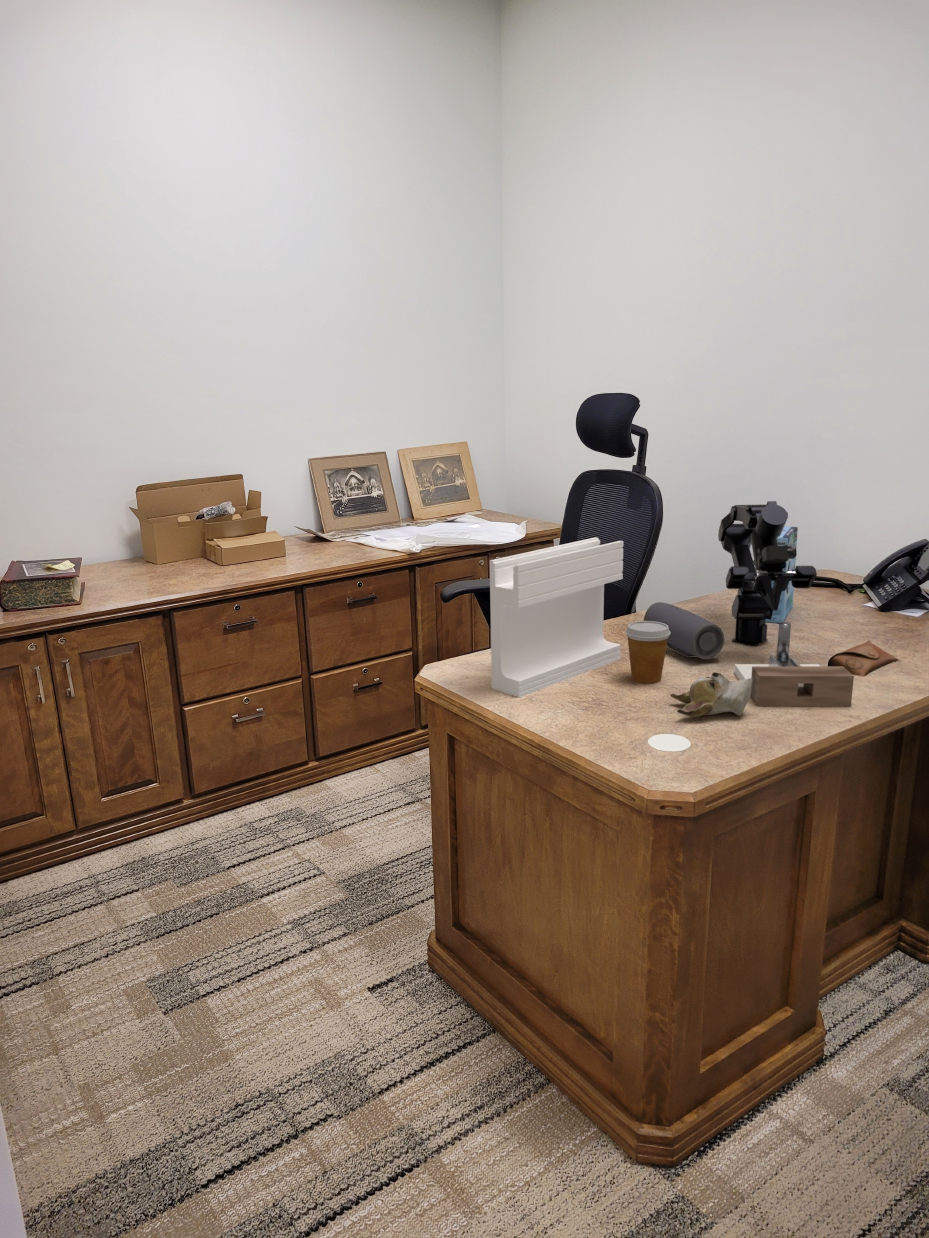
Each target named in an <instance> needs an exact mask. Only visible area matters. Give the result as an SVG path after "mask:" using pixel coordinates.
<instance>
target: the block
mask: <svg viewBox="0 0 929 1238" xmlns="http://www.w3.org/2000/svg"><path fill="white" fill-rule="evenodd" d="M623 547H624V541H623V540H618V541H613V542H609V543H604V544H601V540H600V539H599V537H591V538H587V539H582V540H578V541H573V542H569V543H564V544H559V545H555V546H549V547H545V548H541V549H535V550H532V551H528V552H523V553H522V552H521V553H517V554H514V555H513V554H512V555H509V556H503V557H499V558H495V559H490V560H489V593H490V594H489V596H490V597H489V600H490V603H489V604H490V605H489V607H490V653H491V654H490V655H491V657H490V659H491V661H490V662H491V663H490V664H491V689H492V690H494V691H499V692H501V693H504V694H508V695H511V696H515V697H516V698H521V697H524V696H527V695H529V694H532V693H535V692H537V691H540V690H543V689H545V688H548V687H550V686H553V685H555V684H559V683H561V682H564V681H566V680H569V679H571V678H574V677H577V676H580V675H582V674H585V673H587V672H591V671H593V670H595V669H598V668H601V667H603V666H606V665H609V664H611V663H613V662H616V661H619V660H621V659H622V656H621V655H622V650H621V649H622V645H621V644H619V643H615V642H611V641H608V640H607V639H605V637H604V606H605V603H604V602H605V584H610V583H613V582H617V581H620V580H623V579H624V577H623V575H624V573H623V571H624V561H623V560H624V548H623Z"/></svg>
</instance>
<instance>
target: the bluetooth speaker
mask: <svg viewBox="0 0 929 1238" xmlns="http://www.w3.org/2000/svg"><path fill="white" fill-rule="evenodd" d="M643 621H655V622H661V623H664V624H666V625H668V628H669V631H670V635H669V637H668V641H667V647H668V648H669V649H670V650H673V651H674V652H675V653H676V652H677V653H678V654H680V655H682V656H684V657H687V658H690V657H691V658H694V657H696V658H699V659H704V660H708V659H712V658H716V657H717V656H718V655H719V654H720V653H721V652H722V650H723V648H724V646H725V643H726V642H725V638H726V637H725V633H724V632H723V629H722V628H721V627H720V626H719V625H718V624H715V623H714V622H713V621H710V620H708V619H707V618H704V617H702V616H700V615H698V614H697V613H694V612H692V611H689V610H688V609H685V608H682V607H679V606H676V605H674V604H670V603H668V602H662V601H660V602H655V603H652V604H651V605H650V606H649V607H648V608H647V610H646V611H645V613H644V617H643Z"/></svg>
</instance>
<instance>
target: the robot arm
mask: <svg viewBox="0 0 929 1238" xmlns="http://www.w3.org/2000/svg"><path fill="white" fill-rule="evenodd" d="M777 503H778V502H777V501H776V500H771V501H770V500H768V501H767V502H766V504H735V505H732V506H731V508H730V511H729V513H728V514H726V515H725V516H724V517H723V518H722V519H721V520H720V525H719V528H718V532H717V533H718V538H717V539H718V541H719V542H720V544H721V546H722V549H723V550H724V551H726V552H727V553H729V554H730V555H731V558H732V559H731V560H732V563H733V565H732V566H730V567H729V568H728V571H727V574H726V576H725V577H726V578H725V586H726V587H725V588H726V589H728V590H737V593H736V595H735V597H734V600H733V602H732V605H731V616H732V617H733V618H734V620H735V631H734V632H735V635H734V638H732V639H731V642H733V643H736V644H737V643H738V644H743V645H748V646H752V647H757V646H759V645H761V644H763V643H765V642H768V637H767V635H768V624H766V623H767V622H766V619H769V620H771V618H772V613H773V611H777V609H778V606H779V601H780V597H781V592H782V591H785V590H786V588H787V586H788V584H789V582H790V581H791V584H792V586H793V587H794V589H809V588H811V587H812V585H813V583H814V581H815V579H816V577H817V575H818V573H817V568H815V566H813V565H795V570H794V572H783V568H785V567H786V561H788V560H789V559H794V558H795V557H797V552H798V551H797V547H796V545H795V543H788V544H787V545H785V546H778V540H777V537H779V536H780V535H781V533H782V530H783V528H784V527H786V526H785V525H786V523H787V521H788V519H789V514H788V511H787V510H786V509H785V508H784V507H783V506H781V505H779V504H777ZM736 521H738V522H742V523H735V522H736ZM751 549H752V552H751ZM752 555H753V556H752ZM771 581H773V583H774V586H773V588H772V586H771Z"/></svg>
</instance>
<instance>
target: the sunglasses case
mask: <svg viewBox="0 0 929 1238" xmlns="http://www.w3.org/2000/svg"><path fill="white" fill-rule="evenodd" d="M897 661H899V659H898V658H897V657H895V656H894V655H892V654H890V653H889V652H887V651H885V650H883V649H882V648H880V647H879V646H878V645H876V644H874V643H872V642H871V640H869V639H868V640H867V641H866V642H863V643H861V644H858V645H856V646H853V647H850V648H848V649H846V650H843V651H841V652H837V653H835V654H834V655H832V656H831V657H830V658H829V659H828V662H827V666H843V667H844V668H845V669H847V670H848V671H849V672H850V673H851V674H852V675H853V676H858V677H861V678H863V677H865V676H867V675H869V674H870V673H872V672H874V671H876V670H878V669H880V668H882V667H885V666H887V665H889V664H892V663H895V662H897Z"/></svg>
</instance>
